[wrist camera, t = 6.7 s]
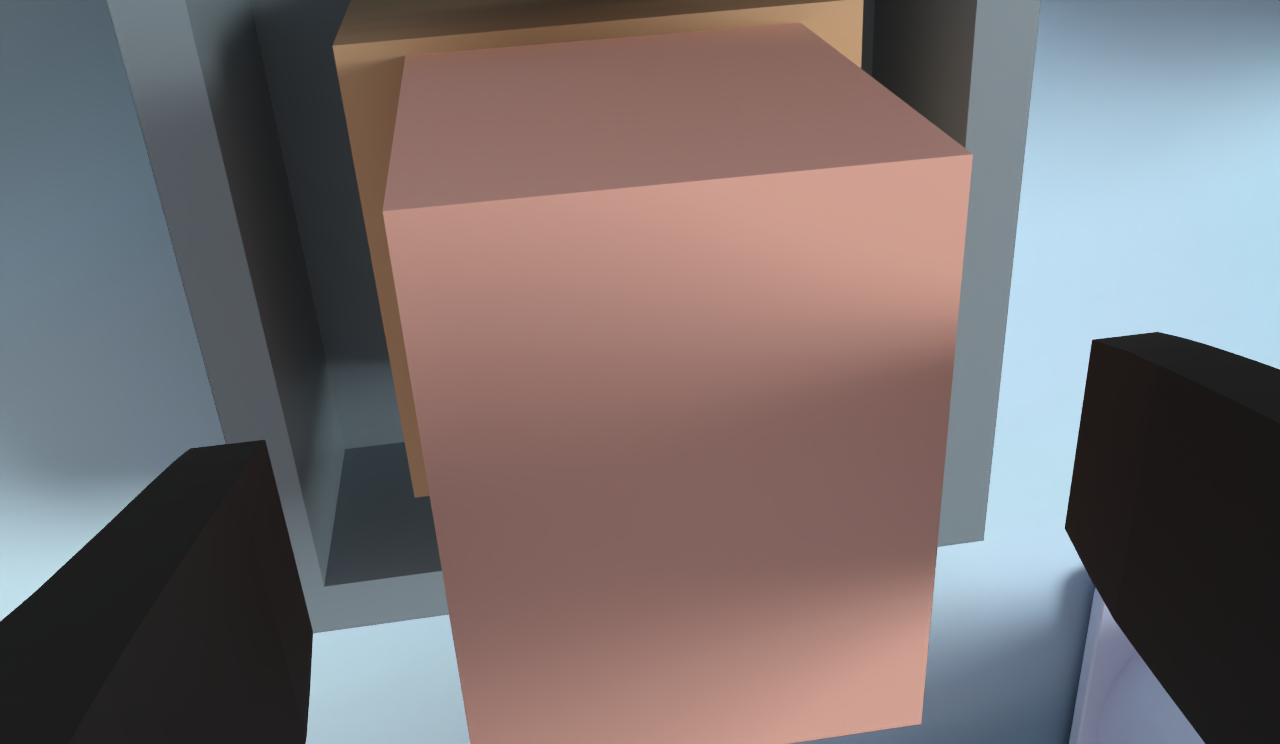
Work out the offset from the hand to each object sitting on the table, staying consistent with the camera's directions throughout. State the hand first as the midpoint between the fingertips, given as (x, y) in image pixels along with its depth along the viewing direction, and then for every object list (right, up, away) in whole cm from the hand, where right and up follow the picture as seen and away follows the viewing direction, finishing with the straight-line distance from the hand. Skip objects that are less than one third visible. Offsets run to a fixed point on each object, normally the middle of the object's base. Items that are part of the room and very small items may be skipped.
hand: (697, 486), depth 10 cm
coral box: (-1, +2, +4) cm, 5 cm away
